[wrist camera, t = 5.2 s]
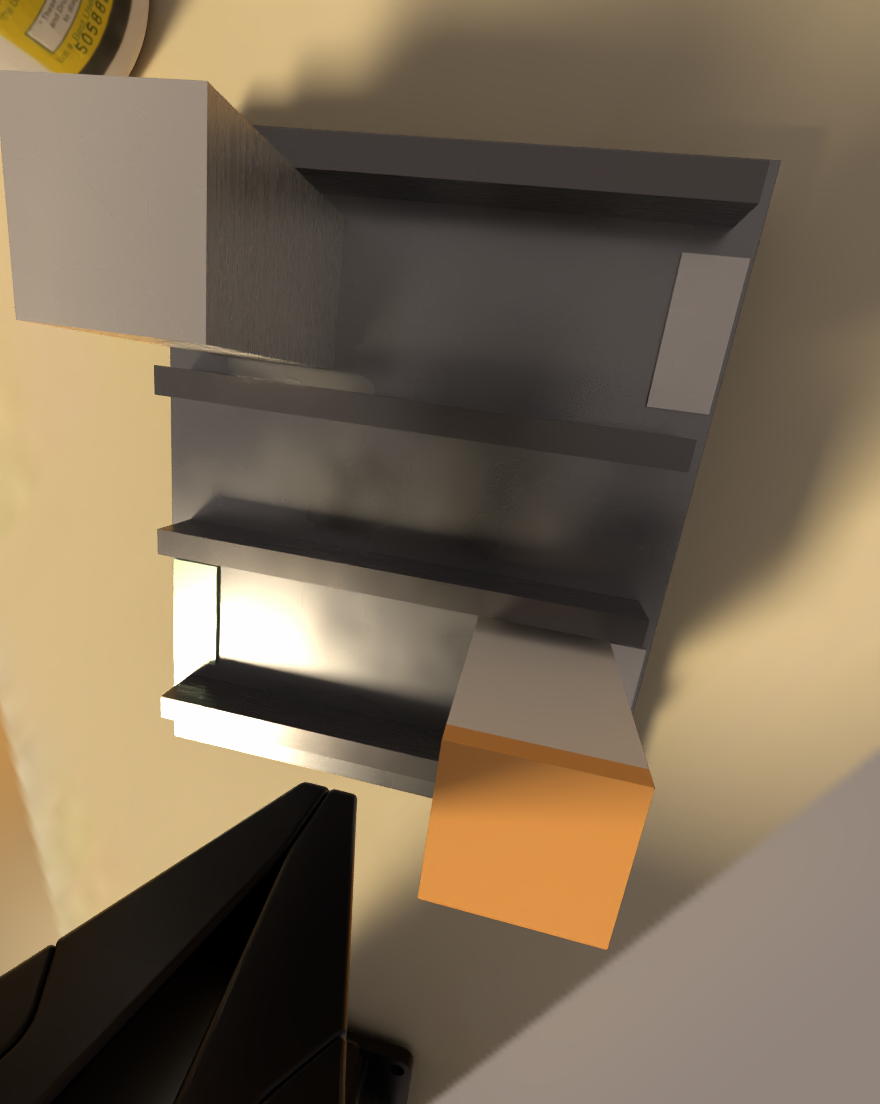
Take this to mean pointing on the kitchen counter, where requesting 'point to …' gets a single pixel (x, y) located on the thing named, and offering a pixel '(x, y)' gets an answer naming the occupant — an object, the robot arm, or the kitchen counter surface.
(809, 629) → the kitchen counter surface
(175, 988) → the robot arm
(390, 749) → the breaker panel
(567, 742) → the block
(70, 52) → the supplement bottle
